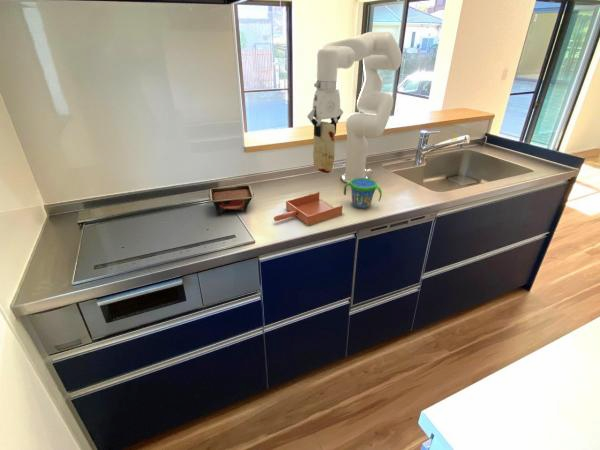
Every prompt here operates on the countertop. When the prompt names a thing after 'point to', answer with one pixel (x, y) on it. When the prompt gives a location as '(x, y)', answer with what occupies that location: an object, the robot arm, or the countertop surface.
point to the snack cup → (362, 191)
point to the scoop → (309, 209)
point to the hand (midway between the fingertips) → (325, 134)
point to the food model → (324, 148)
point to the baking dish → (231, 197)
